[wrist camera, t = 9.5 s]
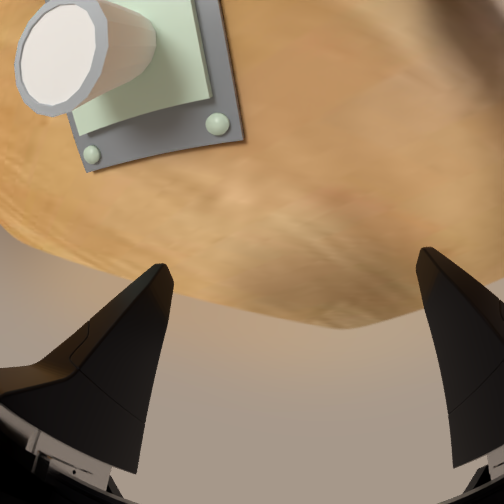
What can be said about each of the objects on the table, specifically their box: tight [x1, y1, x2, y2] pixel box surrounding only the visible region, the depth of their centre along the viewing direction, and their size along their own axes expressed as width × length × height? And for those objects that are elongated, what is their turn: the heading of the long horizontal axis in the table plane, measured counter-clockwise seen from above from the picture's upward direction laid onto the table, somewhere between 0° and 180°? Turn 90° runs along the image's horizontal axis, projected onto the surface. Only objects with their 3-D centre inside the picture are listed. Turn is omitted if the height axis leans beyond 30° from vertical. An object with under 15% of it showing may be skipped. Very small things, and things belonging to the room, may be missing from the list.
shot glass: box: [14, 0, 156, 117], centre depth 11 cm, size 7×7×7 cm
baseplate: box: [45, 0, 244, 173], centre depth 14 cm, size 14×18×2 cm
